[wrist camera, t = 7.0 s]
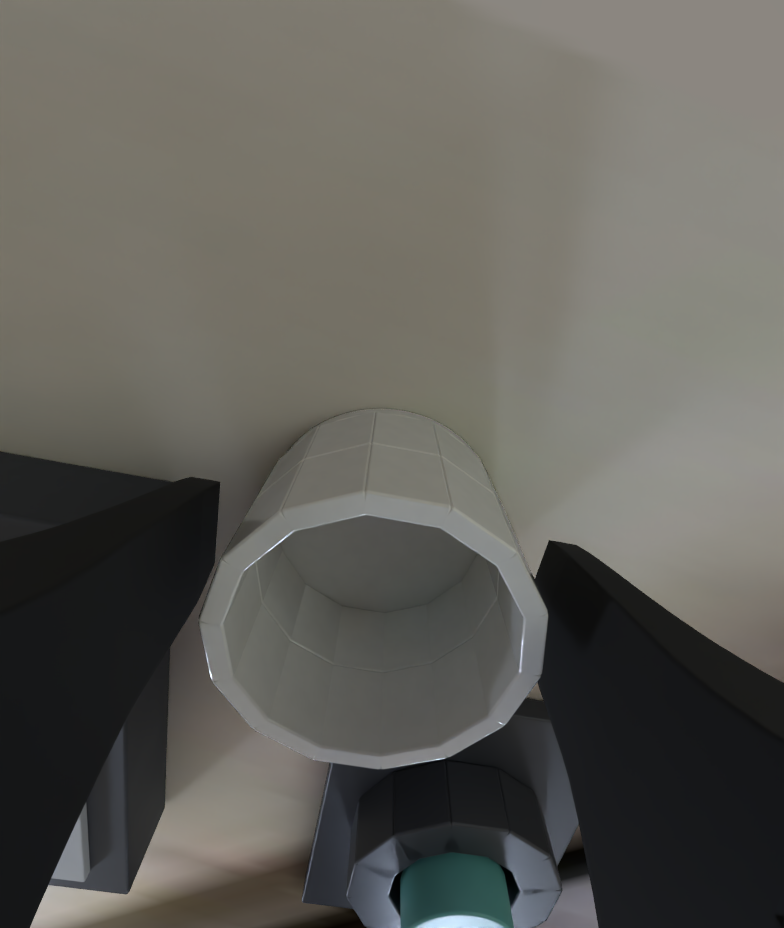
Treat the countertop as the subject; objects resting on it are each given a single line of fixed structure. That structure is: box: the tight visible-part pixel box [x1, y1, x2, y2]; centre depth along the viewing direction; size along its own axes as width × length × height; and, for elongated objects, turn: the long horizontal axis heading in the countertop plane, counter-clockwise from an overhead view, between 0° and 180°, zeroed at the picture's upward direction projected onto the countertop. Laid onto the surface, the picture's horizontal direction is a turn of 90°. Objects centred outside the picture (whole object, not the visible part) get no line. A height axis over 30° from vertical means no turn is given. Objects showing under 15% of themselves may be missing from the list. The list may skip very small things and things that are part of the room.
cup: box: [199, 409, 548, 769], centre depth 10 cm, size 6×6×4 cm
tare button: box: [400, 852, 514, 928], centre depth 14 cm, size 3×3×2 cm
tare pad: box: [302, 699, 579, 928], centre depth 15 cm, size 10×8×2 cm
